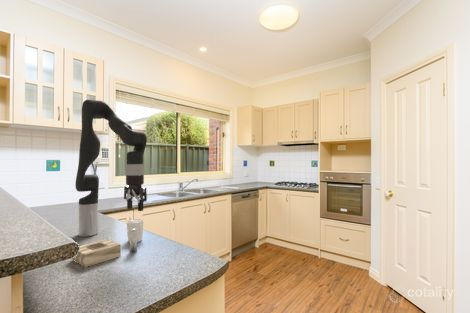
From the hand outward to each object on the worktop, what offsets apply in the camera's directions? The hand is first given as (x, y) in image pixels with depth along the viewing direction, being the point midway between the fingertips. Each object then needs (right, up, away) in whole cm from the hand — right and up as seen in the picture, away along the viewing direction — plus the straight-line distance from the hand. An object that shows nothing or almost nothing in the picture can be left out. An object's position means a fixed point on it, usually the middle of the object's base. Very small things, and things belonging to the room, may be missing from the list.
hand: (135, 209), depth 110 cm
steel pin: (0, -19, -1) cm, 19 cm away
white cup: (-6, -19, +14) cm, 24 cm away
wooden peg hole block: (-13, -19, -8) cm, 24 cm away
